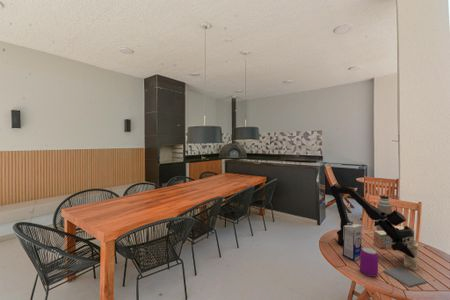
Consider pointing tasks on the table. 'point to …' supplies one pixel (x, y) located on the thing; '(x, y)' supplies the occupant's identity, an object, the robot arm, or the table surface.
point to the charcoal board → (404, 276)
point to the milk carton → (352, 241)
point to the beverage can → (369, 261)
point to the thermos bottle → (383, 208)
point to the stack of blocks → (386, 239)
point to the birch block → (410, 261)
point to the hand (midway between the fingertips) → (414, 255)
